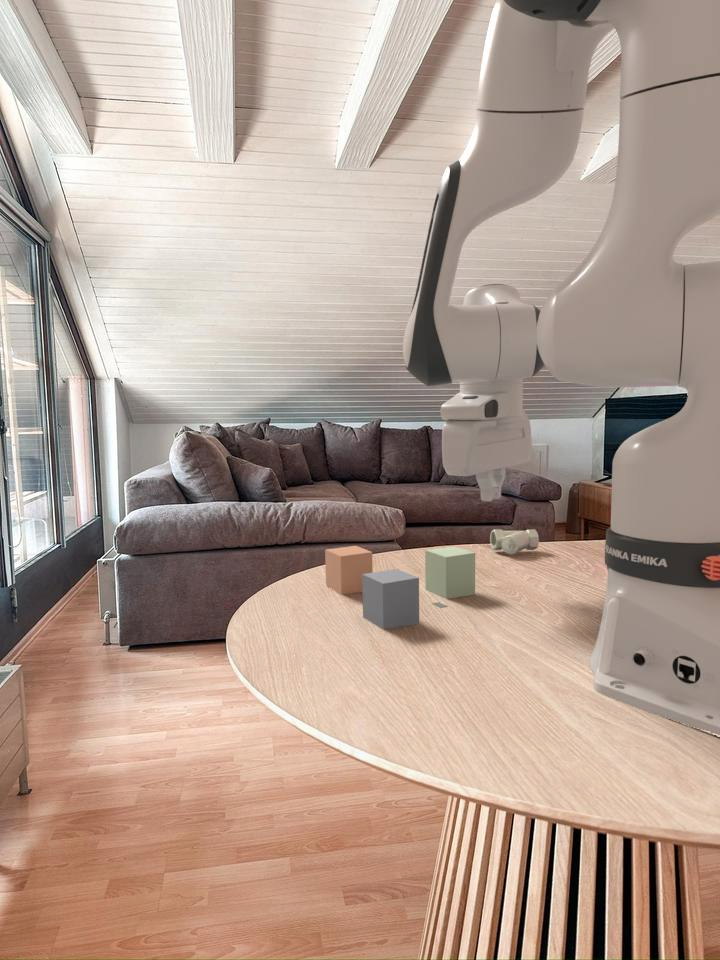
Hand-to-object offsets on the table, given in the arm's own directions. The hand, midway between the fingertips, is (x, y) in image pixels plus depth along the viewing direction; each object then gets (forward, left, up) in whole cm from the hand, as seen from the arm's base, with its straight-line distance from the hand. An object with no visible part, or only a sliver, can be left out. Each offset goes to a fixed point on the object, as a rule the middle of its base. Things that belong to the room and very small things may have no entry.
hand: (490, 499), depth 94 cm
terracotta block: (+7, +20, -13) cm, 24 cm away
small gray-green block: (-5, +13, -13) cm, 18 cm away
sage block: (-1, +8, -13) cm, 15 cm away
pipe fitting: (+11, -17, -11) cm, 23 cm away
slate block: (-8, +22, -13) cm, 26 cm away
